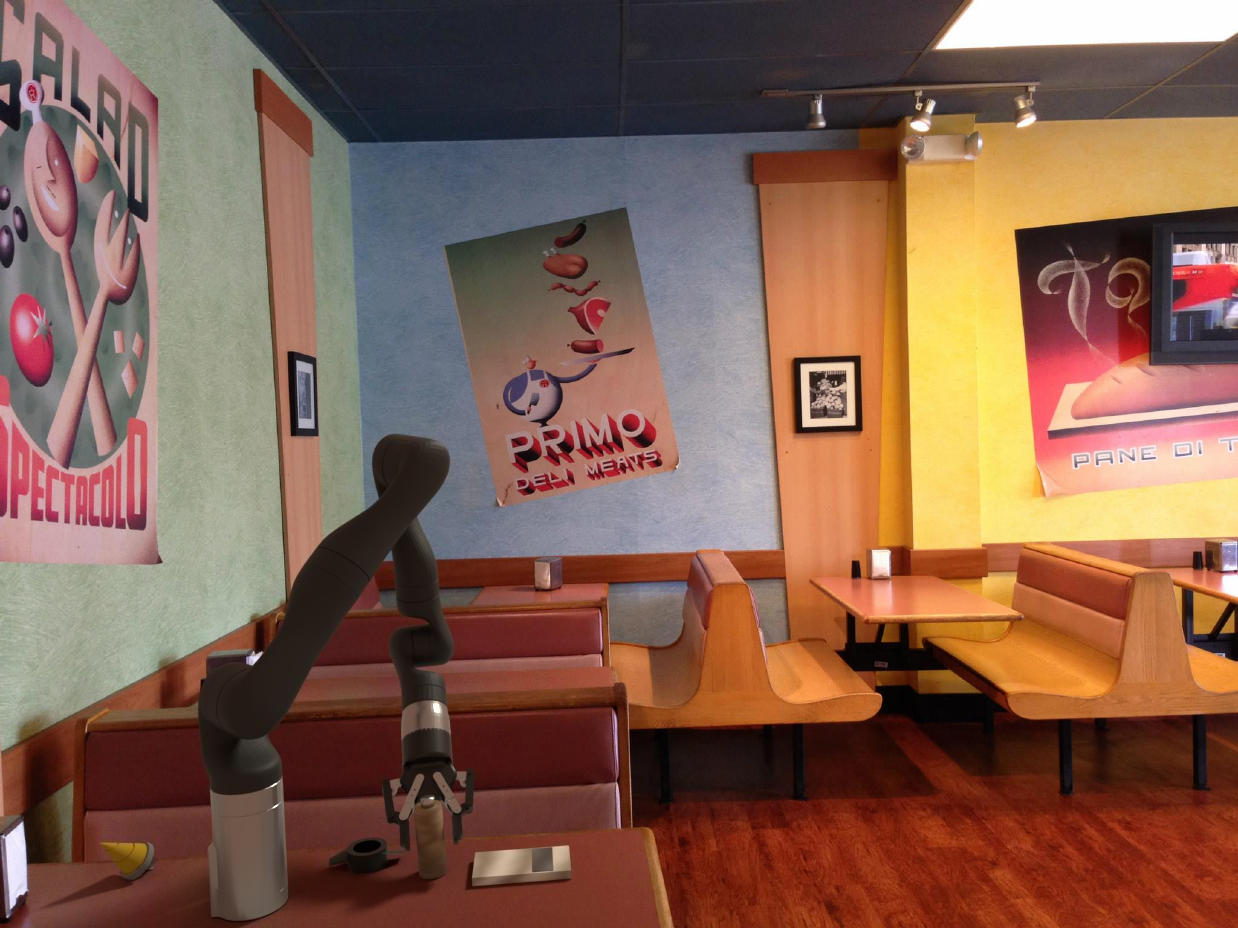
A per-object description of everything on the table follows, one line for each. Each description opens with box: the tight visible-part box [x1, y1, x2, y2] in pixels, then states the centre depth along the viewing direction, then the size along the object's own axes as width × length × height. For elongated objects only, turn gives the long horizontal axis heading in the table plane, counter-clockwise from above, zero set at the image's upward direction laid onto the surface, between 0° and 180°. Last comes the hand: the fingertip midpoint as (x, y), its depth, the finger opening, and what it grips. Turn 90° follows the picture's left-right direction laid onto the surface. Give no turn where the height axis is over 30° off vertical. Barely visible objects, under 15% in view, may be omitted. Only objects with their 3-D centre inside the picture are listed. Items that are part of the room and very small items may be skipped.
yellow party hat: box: [99, 840, 159, 881], centre depth 134 cm, size 5×5×10 cm
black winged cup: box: [328, 836, 406, 875], centre depth 137 cm, size 8×10×3 cm
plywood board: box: [471, 845, 572, 887], centre depth 134 cm, size 14×8×1 cm, turn 96°
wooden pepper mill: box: [413, 795, 448, 880], centre depth 133 cm, size 4×4×11 cm
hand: (432, 845), depth 132 cm, fingers open, 6 cm apart
